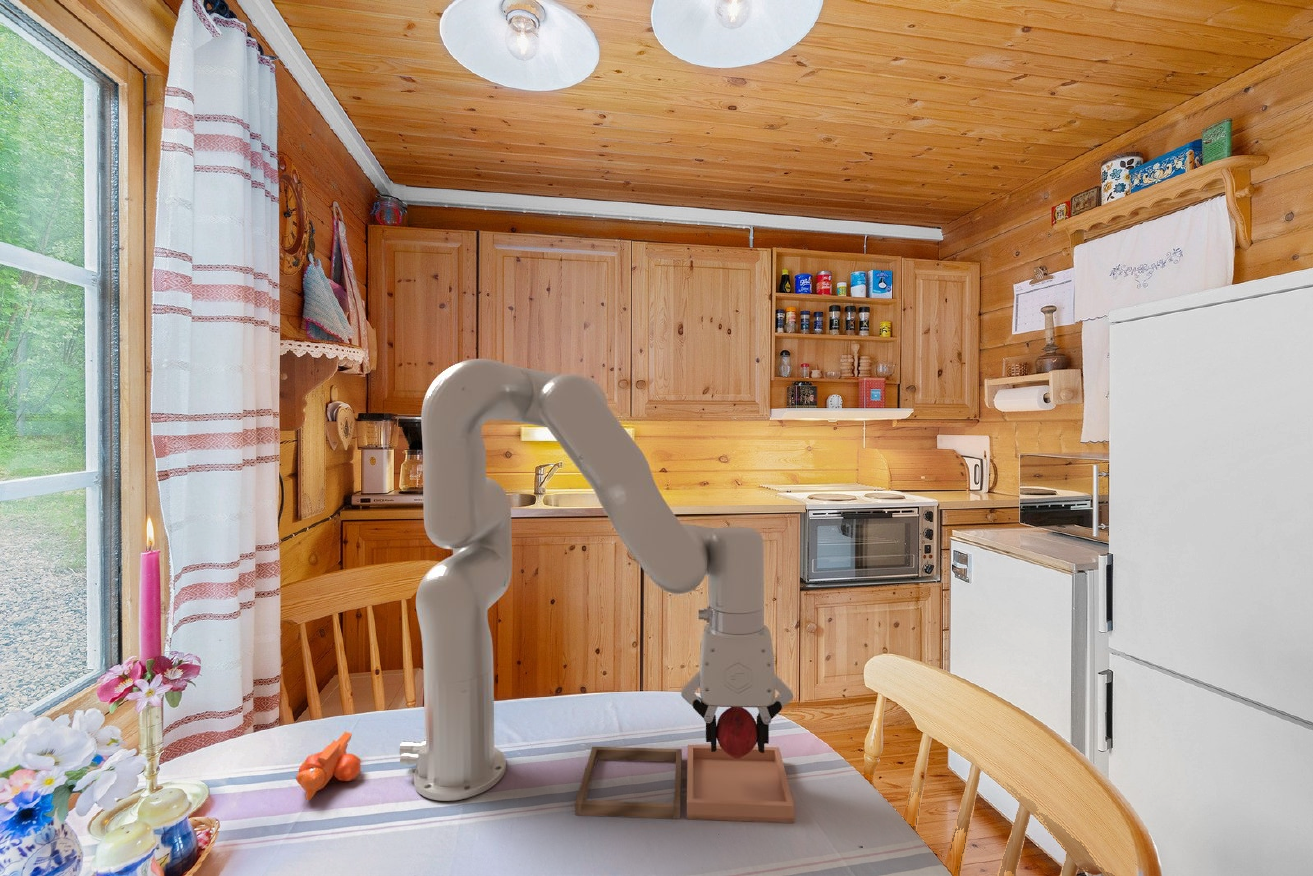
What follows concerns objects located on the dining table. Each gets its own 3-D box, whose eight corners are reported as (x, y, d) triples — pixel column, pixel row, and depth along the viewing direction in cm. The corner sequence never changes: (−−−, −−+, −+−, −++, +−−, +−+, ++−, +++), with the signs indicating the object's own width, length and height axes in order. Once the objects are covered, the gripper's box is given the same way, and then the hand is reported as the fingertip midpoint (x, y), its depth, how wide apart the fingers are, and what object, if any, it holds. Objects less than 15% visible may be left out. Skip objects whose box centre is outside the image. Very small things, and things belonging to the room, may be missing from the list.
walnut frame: (575, 815, 79) (574, 803, 78) (592, 756, 92) (592, 746, 92) (679, 818, 78) (679, 807, 78) (681, 758, 91) (681, 749, 91)
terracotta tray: (686, 819, 78) (686, 802, 78) (687, 759, 91) (687, 744, 91) (794, 823, 77) (794, 806, 77) (779, 761, 90) (779, 747, 90)
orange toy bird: (333, 720, 92) (291, 766, 80) (381, 734, 93) (346, 781, 81) (323, 751, 92) (279, 801, 80) (371, 765, 93) (334, 817, 81)
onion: (757, 772, 80) (757, 713, 80) (713, 768, 82) (713, 709, 81) (758, 749, 86) (758, 693, 86) (718, 745, 87) (718, 690, 87)
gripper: (672, 627, 80) (673, 761, 81) (804, 628, 79) (805, 764, 80) (674, 609, 87) (675, 731, 88) (795, 610, 86) (795, 734, 87)
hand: (737, 746), depth 84 cm, fingers closed on onion, 5 cm apart
